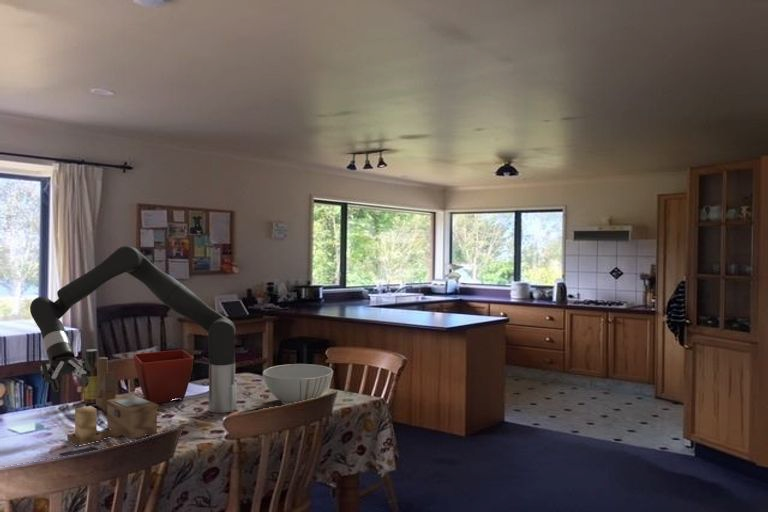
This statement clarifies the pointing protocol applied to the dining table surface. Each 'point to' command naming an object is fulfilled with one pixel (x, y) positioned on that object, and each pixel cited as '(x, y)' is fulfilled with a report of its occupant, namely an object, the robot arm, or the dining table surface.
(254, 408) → the dining table surface
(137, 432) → the brown box with frame
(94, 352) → the sauce bottle
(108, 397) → the wooden block
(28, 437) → the dining table surface
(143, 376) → the plant pot
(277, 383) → the decorative bowl
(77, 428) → the tan cylinder
